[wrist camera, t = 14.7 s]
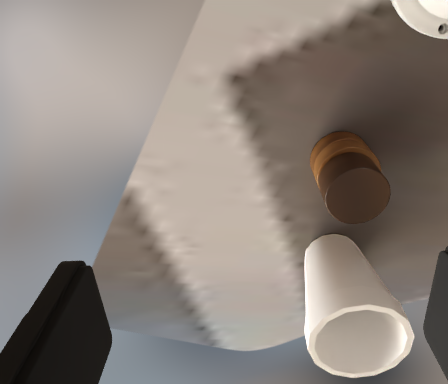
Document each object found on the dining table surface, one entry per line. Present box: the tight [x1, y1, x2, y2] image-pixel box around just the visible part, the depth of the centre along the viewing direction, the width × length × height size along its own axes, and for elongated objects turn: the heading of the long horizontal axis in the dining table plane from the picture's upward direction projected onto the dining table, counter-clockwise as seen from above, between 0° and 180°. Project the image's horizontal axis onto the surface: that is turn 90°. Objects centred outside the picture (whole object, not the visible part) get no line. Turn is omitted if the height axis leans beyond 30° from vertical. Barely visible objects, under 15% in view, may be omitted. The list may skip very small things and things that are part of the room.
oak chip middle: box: [314, 139, 381, 187], centre depth 38 cm, size 6×6×2 cm
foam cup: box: [304, 234, 414, 378], centre depth 42 cm, size 10×9×13 cm
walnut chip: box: [318, 152, 390, 224], centre depth 36 cm, size 6×6×4 cm
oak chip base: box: [310, 131, 366, 177], centre depth 40 cm, size 6×6×2 cm
